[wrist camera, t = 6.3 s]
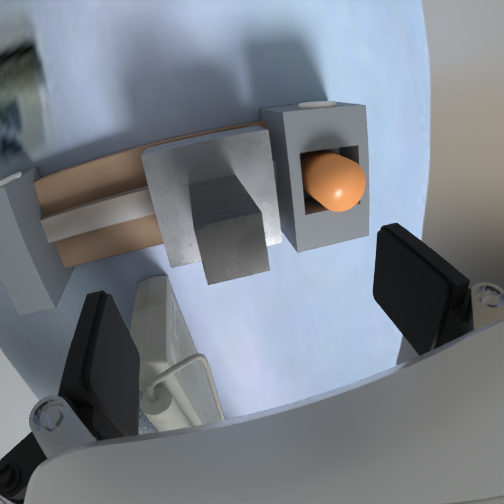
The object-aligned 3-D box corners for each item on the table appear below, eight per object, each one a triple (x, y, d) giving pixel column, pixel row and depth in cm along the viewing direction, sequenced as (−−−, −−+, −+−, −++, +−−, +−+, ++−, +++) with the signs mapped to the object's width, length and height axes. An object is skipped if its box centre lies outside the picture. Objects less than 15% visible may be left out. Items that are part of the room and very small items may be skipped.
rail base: (335, 198, 29) (348, 208, 27) (36, 269, 25) (27, 283, 23) (329, 112, 25) (343, 114, 23) (5, 191, 22) (-7, 200, 19)
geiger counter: (103, 404, 16) (213, 511, 28) (203, 387, 17) (265, 501, 29) (125, 282, 28) (199, 424, 40) (190, 265, 29) (243, 414, 41)
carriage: (271, 226, 26) (320, 298, 17) (171, 248, 25) (171, 334, 16) (257, 125, 22) (310, 146, 13) (145, 148, 21) (121, 186, 12)
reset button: (340, 189, 25) (365, 206, 21) (298, 197, 24) (318, 216, 21) (337, 145, 23) (364, 155, 19) (293, 151, 22) (314, 162, 19)
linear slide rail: (336, 208, 29) (368, 235, 24) (40, 278, 26) (18, 315, 21) (328, 97, 24) (365, 101, 19) (1, 177, 21) (-34, 200, 16)
